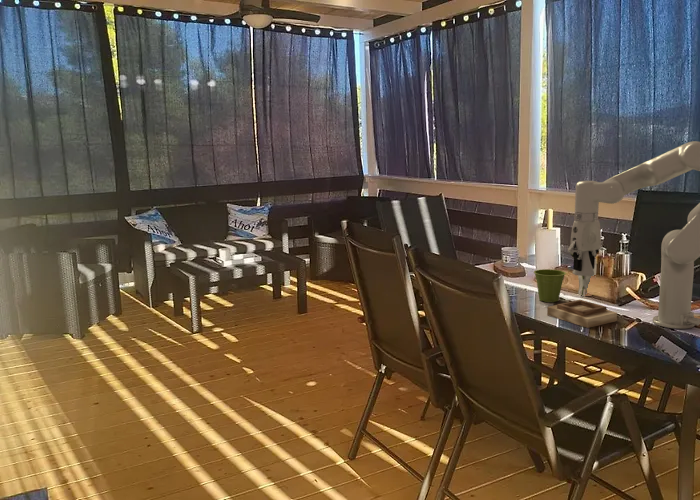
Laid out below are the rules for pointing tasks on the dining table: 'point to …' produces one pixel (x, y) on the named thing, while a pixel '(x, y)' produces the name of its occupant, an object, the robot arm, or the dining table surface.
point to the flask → (585, 266)
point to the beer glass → (585, 282)
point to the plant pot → (549, 284)
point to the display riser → (582, 313)
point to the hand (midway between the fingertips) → (583, 268)
